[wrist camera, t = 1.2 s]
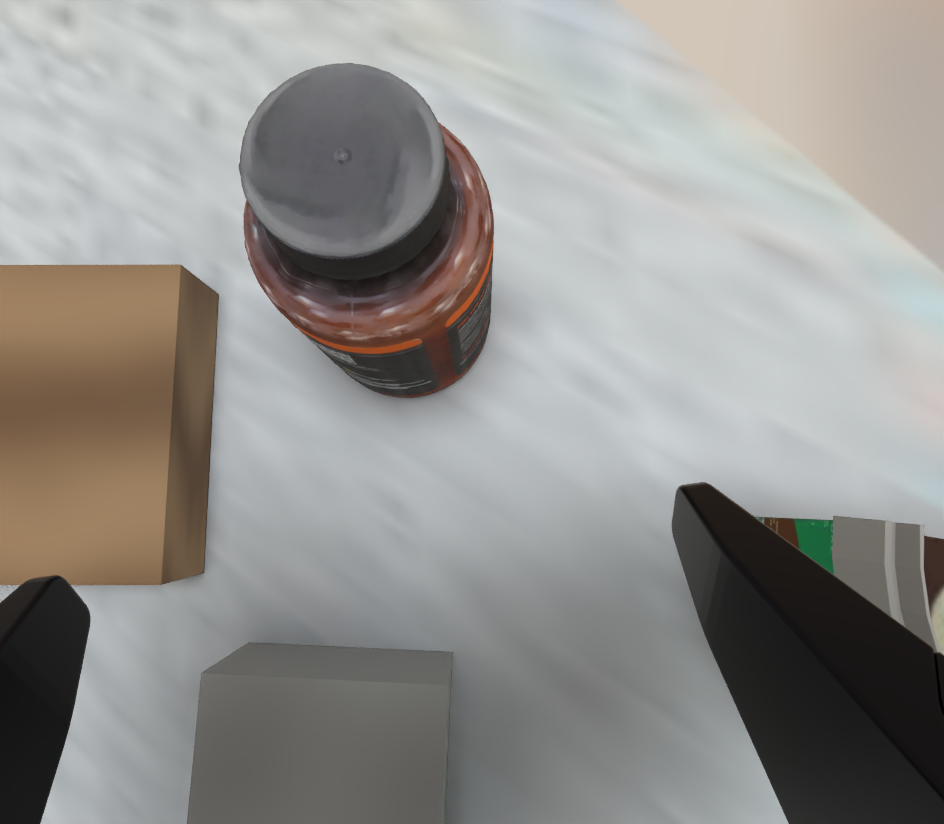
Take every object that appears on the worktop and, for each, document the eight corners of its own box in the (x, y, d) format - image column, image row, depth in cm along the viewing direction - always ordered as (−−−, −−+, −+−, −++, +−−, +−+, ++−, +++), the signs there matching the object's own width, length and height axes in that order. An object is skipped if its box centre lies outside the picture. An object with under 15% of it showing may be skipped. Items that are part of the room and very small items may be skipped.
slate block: (442, 870, 21) (434, 958, 17) (232, 859, 21) (175, 944, 17) (452, 650, 22) (447, 685, 18) (251, 640, 22) (201, 673, 18)
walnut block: (203, 572, 22) (160, 584, 19) (-84, 572, 22) (-171, 584, 19) (218, 294, 23) (180, 264, 20) (-53, 295, 23) (-130, 265, 20)
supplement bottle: (481, 235, 23) (487, -2, 12) (497, 392, 23) (520, 292, 11) (321, 250, 23) (181, 25, 12) (332, 408, 23) (192, 322, 11)
